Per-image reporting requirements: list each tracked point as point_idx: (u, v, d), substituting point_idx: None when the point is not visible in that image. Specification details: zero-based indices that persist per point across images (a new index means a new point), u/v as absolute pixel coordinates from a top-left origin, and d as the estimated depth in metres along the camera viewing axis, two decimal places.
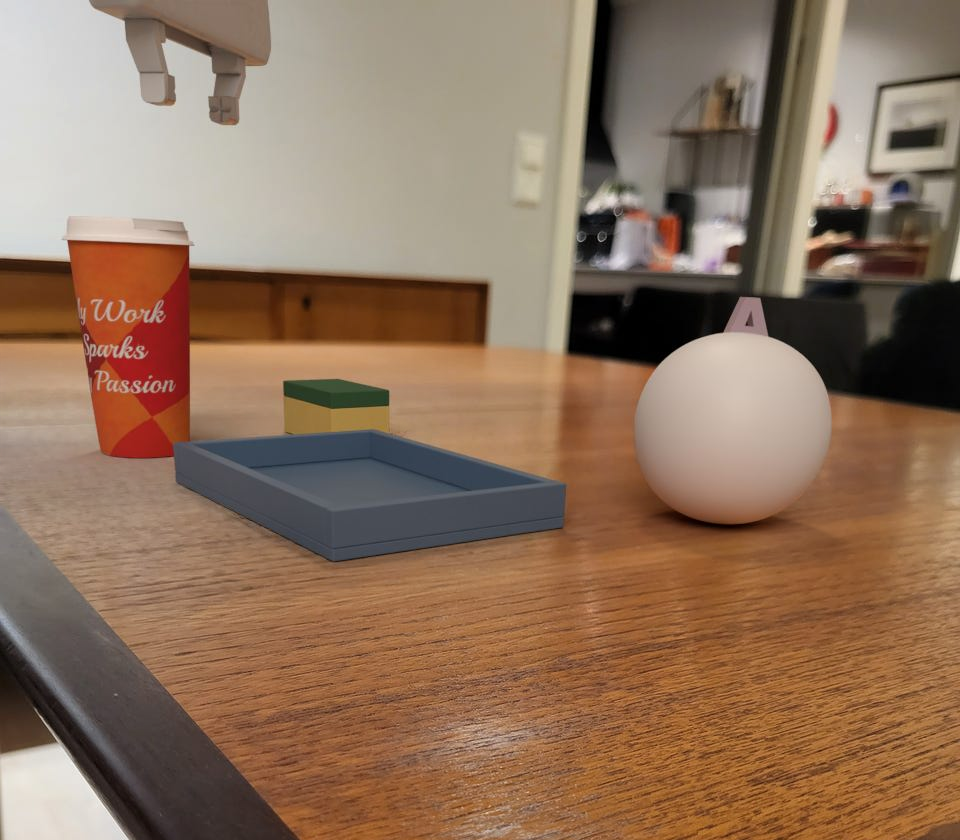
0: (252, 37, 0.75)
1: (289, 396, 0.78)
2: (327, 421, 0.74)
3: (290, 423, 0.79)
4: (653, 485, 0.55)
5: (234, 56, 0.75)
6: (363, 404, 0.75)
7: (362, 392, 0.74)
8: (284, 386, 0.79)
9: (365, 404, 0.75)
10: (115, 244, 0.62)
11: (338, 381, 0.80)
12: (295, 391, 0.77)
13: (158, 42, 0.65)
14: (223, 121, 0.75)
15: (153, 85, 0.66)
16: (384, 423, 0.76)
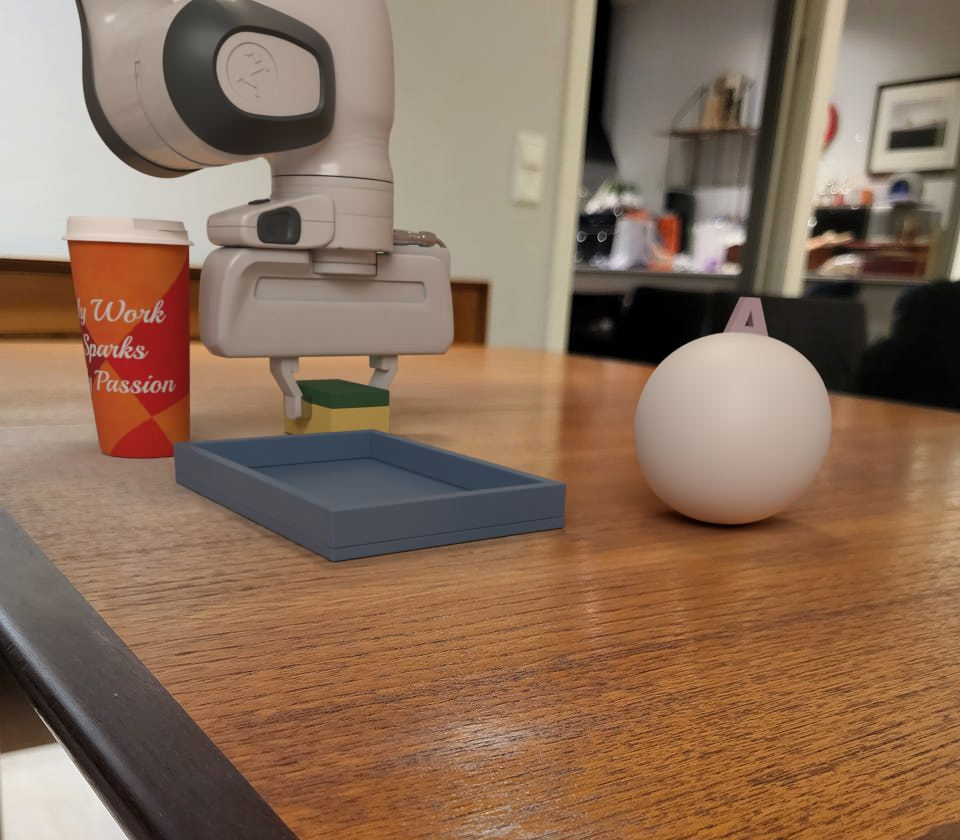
0: (417, 337, 0.78)
1: None
2: (327, 421, 0.74)
3: (290, 423, 0.79)
4: (653, 485, 0.55)
5: (381, 355, 0.78)
6: (363, 404, 0.75)
7: (362, 392, 0.74)
8: None
9: (365, 404, 0.75)
10: (115, 244, 0.62)
11: (338, 381, 0.80)
12: None
13: (287, 374, 0.74)
14: None
15: (290, 405, 0.75)
16: (384, 423, 0.76)
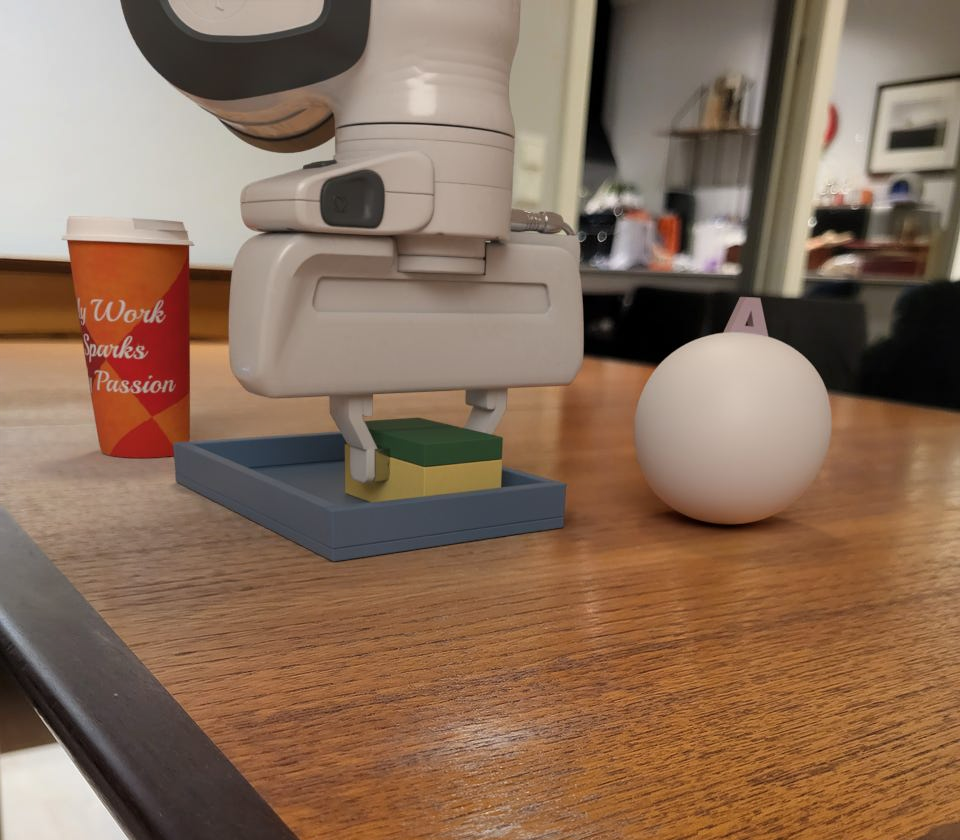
0: (536, 363, 0.55)
1: None
2: (417, 485, 0.51)
3: (355, 483, 0.56)
4: (653, 485, 0.55)
5: (485, 388, 0.55)
6: (467, 459, 0.52)
7: (467, 441, 0.51)
8: None
9: (470, 458, 0.52)
10: (115, 244, 0.62)
11: (421, 422, 0.56)
12: None
13: (356, 419, 0.50)
14: None
15: (358, 462, 0.52)
16: (494, 484, 0.53)
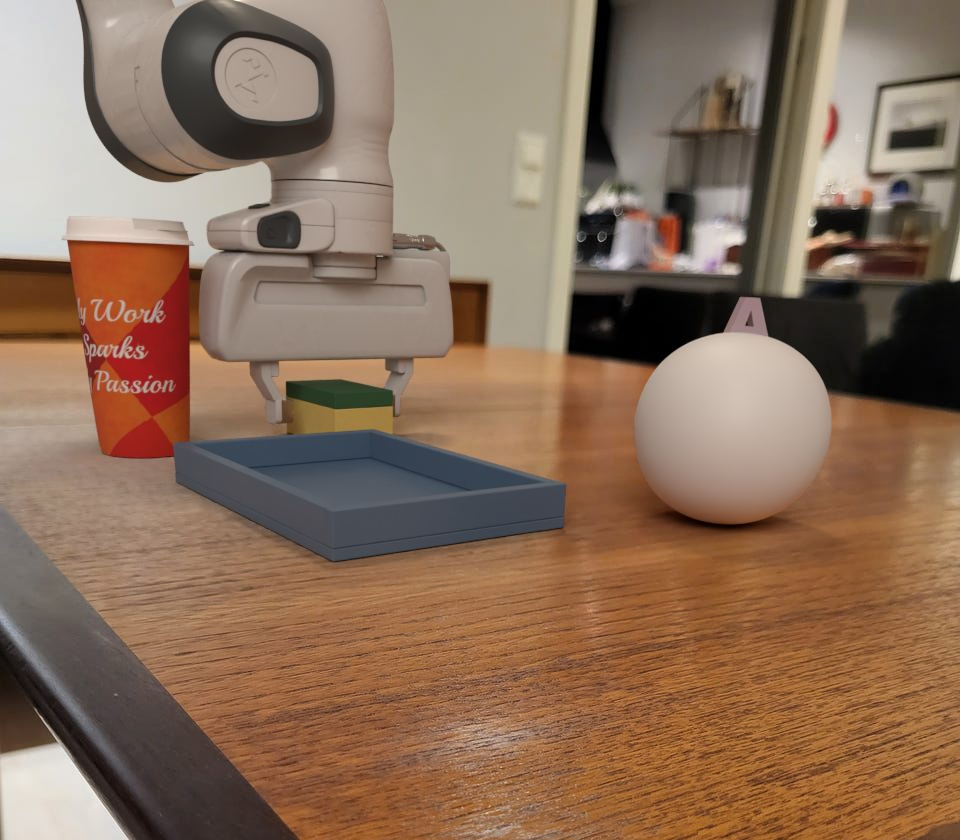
0: (417, 340, 0.78)
1: (292, 397, 0.78)
2: (331, 422, 0.74)
3: (293, 424, 0.79)
4: (653, 485, 0.55)
5: (397, 358, 0.79)
6: (367, 404, 0.75)
7: (366, 392, 0.74)
8: (287, 386, 0.79)
9: (369, 404, 0.75)
10: (115, 244, 0.62)
11: (341, 381, 0.79)
12: (298, 391, 0.77)
13: (267, 378, 0.73)
14: None
15: (271, 409, 0.75)
16: (387, 423, 0.76)
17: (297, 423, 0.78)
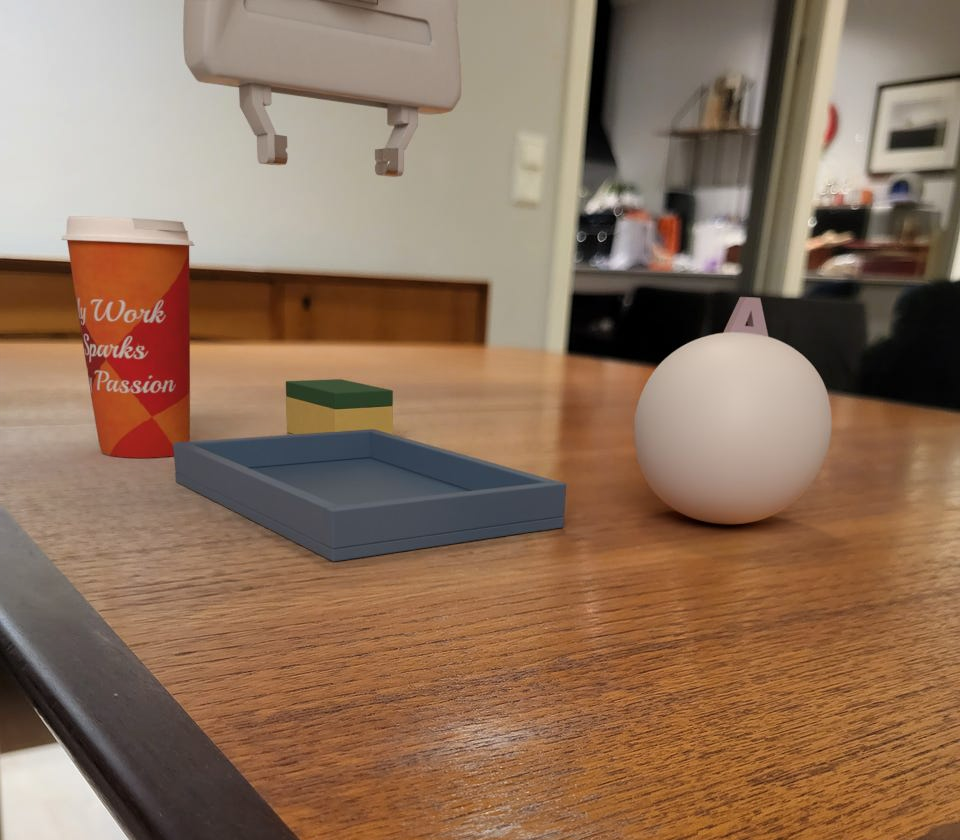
0: (422, 85, 0.72)
1: (292, 397, 0.78)
2: (331, 422, 0.74)
3: (293, 424, 0.79)
4: (653, 485, 0.55)
5: (400, 106, 0.73)
6: (367, 404, 0.75)
7: (366, 392, 0.74)
8: (287, 386, 0.79)
9: (369, 404, 0.75)
10: (115, 244, 0.62)
11: (341, 381, 0.79)
12: (298, 391, 0.77)
13: (258, 105, 0.67)
14: (382, 173, 0.74)
15: (263, 146, 0.69)
16: (387, 423, 0.76)
17: (297, 423, 0.78)
